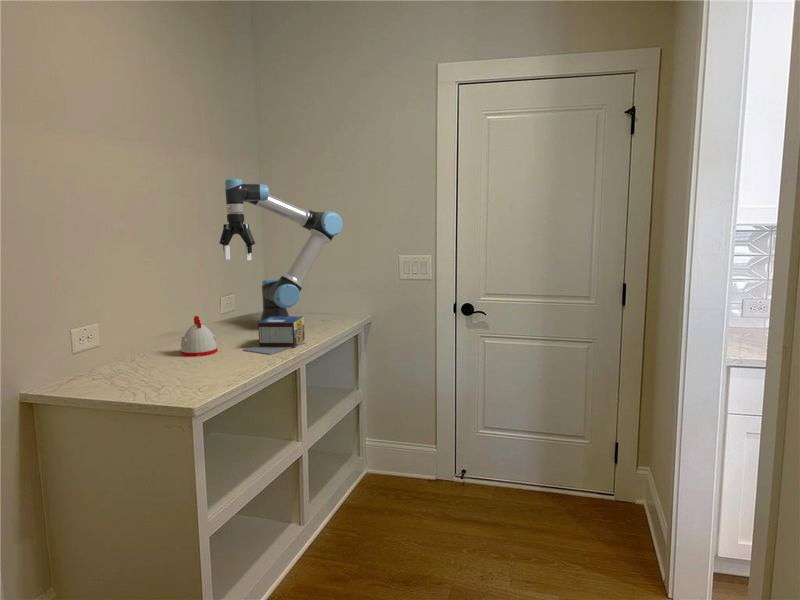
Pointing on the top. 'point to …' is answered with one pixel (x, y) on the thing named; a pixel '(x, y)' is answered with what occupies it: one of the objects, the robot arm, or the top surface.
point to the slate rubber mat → (269, 349)
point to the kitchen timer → (198, 341)
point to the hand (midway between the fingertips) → (238, 259)
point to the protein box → (281, 331)
